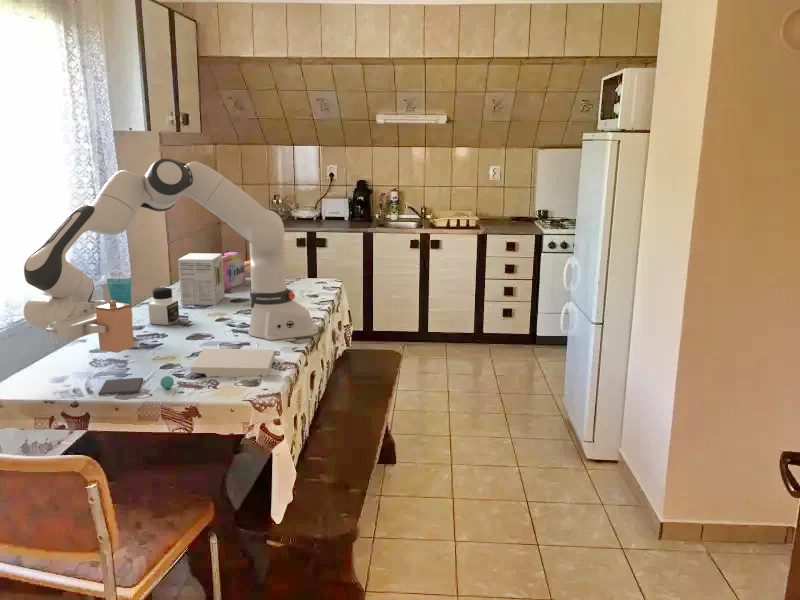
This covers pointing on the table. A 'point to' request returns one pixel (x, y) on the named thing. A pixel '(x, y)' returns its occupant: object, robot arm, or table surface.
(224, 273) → the gum box
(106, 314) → the tan box with knob
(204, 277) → the supplement box
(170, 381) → the ball
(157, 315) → the medicine bottle
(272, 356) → the cream flat block
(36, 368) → the table surface
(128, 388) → the mat
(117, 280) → the tube
